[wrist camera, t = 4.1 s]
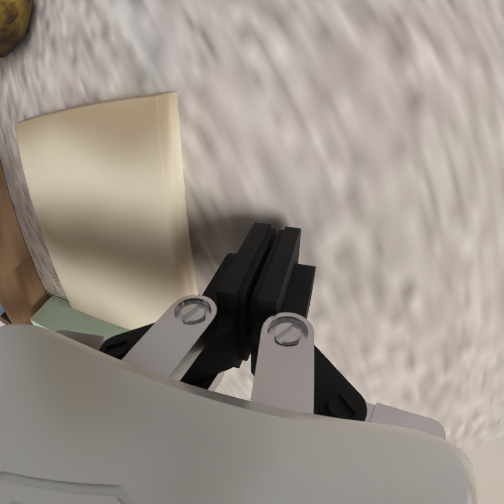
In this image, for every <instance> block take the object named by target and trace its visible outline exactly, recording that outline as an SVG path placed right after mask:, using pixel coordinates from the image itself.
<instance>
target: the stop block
mask: <svg viewBox="0 0 504 504" xmlns="http://www.w3.org/2000/svg"><path fill="white" fill-rule="evenodd" d="M48 300H49V298H48V295H47V293H46V291H45V289H44V287H43V285H42V283H41V280H40V278H39V276H38V274H37V271H36V269H35V267H34V264H33V262H32V259H31V257H30V254H29V252H28V249H27V247H26V244H25V241H24V239H23V236H22V233H21V230H20V227H19V224H18V221H17V218H16V215H15V212H14V209H13V206H12V202H11V199H10V196H9V192H8V189H7V185H6V181H5V177H4V173H3V169H2V165H1V160H0V304H1V305H2V307H3V309H4V311H5V312H4V313H3V314H2V315H1V316H0V321H2V322H3V323H4V324H6V325H9V324H29V325H33V324H32V322H31V320H30V319H31V317H32V316H33V315H34V314H35V313H36V312H37V311H38V310H39V309H40V308H41V307H42V306H43V305H44V304H45V303H46V302H47V301H48Z"/></svg>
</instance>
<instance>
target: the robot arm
mask: <svg viewBox="0 0 504 504" xmlns="http://www.w3.org/2000/svg"><path fill="white" fill-rule="evenodd" d="M300 236H301V229H300V228H293V227H285V229H284V230H279V232H278V234H277V237H276V229H272V228H271V225H270V224H264V223H255V224H254V225H253V227H252V229H251V230H250V232H249V234H248V236H247V237H246V239H245V241H244V242H243V244H242V246H241V248H240V249H239V251H238V253H237V254H232V253H229V254H227V256H226V257H225V259H224V260H223V262H222V264H221V265H220V267H219V269H218V270H217V272H216V273H215V275H214V277H213V278H212V280H211V282H210V283H209V285H208V286H207V288H206V290H205V291H204V293H203V295H188V296H184V297H182V298H180V299H178V300H177V301H176V302H174V303H173V304H172V305H171V306H170V307H169V308H168V310H167V311H166V312H165V313H164V314H163V315H162V316H161V317H160V318H159V319H158V320H157V321H156V322H155V323H152V324H149V325H145V326H142V327H139V328H136V329H133V330H130V331H127V332H124V333H121V334H118V335H115V336H113V337H110V338H108V339H107V340H106V338H105V336H99V335H92V334H85V333H79V332H73V331H67V330H59V331H56V332H54V331H52V330H49V329H46V328H42V327H39V326H35V325H29V324H9V325H4V326H2V327H0V504H477V489H476V480H475V474H474V470H473V466H472V464H471V462H470V460H469V458H468V456H467V455H466V454H465V453H464V452H463V451H462V450H461V449H460V448H458V447H457V446H455V445H454V444H452V443H450V442H448V441H446V440H445V435H446V434H445V431H444V428H443V426H442V425H441V424H440V423H439V422H438V421H436V420H434V419H431V418H428V417H424V416H420V415H417V414H413V413H410V412H406V411H403V410H400V409H396V408H393V407H390V406H387V405H383V404H380V403H376V405H373V404H370V403H367V402H365V400H364V399H363V397H362V396H361V395H360V393H359V392H358V391H357V390H356V389H355V388H354V387H353V386H352V385H351V384H350V383H349V382H348V381H347V380H346V378H345V377H344V376H343V375H342V374H341V373H340V372H339V371H338V370H337V369H336V368H335V367H334V366H333V364H332V363H331V362H330V361H329V360H328V359H327V358H326V357H325V356H324V355H323V354H322V353H321V352H320V350H319V349H318V348H317V347H316V346H315V345H314V331H313V326H312V325H311V323H310V322H309V321H308V320H307V315H308V310H309V306H310V300H311V295H312V289H313V283H314V276H315V269H316V267H315V266H309V265H302V264H298V258H299V247H300ZM250 353H251V373H252V374H253V375H254V383H253V389H252V396H251V401H247V400H243V399H239V398H236V397H232V396H228V395H224V394H220V393H217V392H214V391H215V389H216V388H217V386H218V385H219V383H220V382H221V380H222V378H223V376H224V371H226V370H228V369H231V368H233V367H236V368H240V365H241V362H242V360H244V361H247V360H248V358H249V356H250Z"/></svg>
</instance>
